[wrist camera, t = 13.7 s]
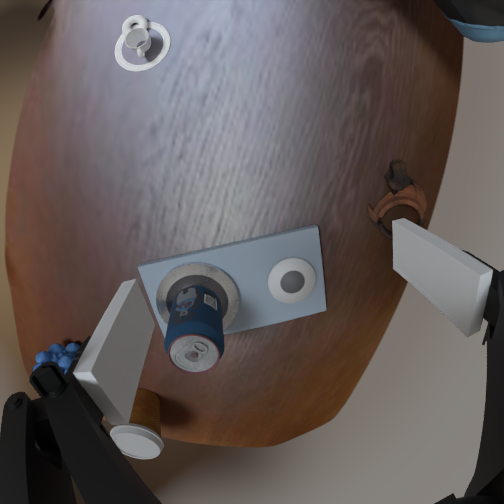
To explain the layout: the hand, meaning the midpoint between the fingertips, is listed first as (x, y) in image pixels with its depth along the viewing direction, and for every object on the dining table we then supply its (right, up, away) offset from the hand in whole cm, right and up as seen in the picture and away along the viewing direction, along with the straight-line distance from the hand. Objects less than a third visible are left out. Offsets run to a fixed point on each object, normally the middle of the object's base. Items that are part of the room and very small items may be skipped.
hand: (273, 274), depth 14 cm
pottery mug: (+20, +10, +29) cm, 37 cm away
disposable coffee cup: (-22, -27, +37) cm, 51 cm away
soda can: (-9, -6, +28) cm, 30 cm away
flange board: (-3, -4, +30) cm, 31 cm away
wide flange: (-9, -6, +29) cm, 31 cm away
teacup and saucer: (-14, +31, +17) cm, 38 cm away
